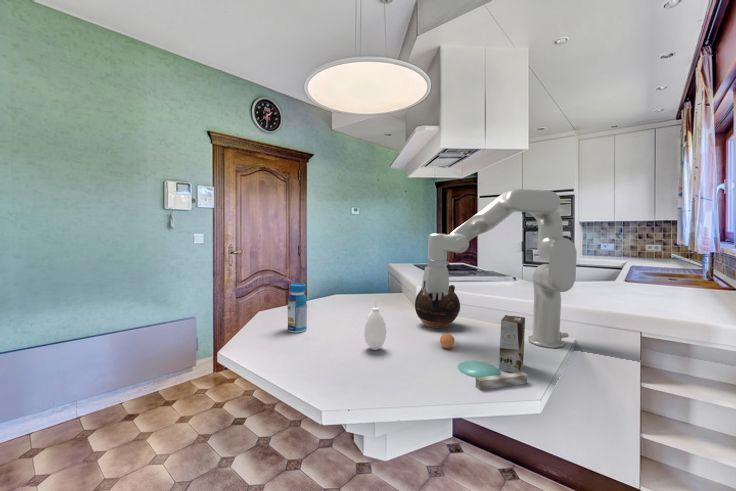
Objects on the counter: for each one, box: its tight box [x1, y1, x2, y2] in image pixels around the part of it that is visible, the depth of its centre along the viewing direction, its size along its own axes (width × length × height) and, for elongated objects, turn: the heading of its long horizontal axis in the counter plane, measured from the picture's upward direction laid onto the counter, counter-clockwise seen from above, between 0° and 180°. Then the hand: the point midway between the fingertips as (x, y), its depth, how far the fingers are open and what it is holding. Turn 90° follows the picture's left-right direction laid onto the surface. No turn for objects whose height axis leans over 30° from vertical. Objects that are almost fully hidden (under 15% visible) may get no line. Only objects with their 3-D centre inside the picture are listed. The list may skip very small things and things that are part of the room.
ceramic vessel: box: [414, 263, 461, 329], centre depth 153 cm, size 21×18×30 cm
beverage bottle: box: [287, 283, 308, 334], centre depth 143 cm, size 8×8×20 cm
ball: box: [439, 332, 456, 349], centre depth 125 cm, size 6×6×6 cm
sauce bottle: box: [363, 301, 387, 351], centre depth 122 cm, size 8×8×18 cm
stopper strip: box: [475, 371, 528, 391], centre depth 95 cm, size 16×2×2 cm, turn 106°
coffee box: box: [498, 314, 526, 374], centre depth 108 cm, size 9×6×16 cm
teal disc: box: [457, 360, 502, 378], centre depth 106 cm, size 13×13×1 cm
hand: (434, 309), depth 134 cm, fingers closed
